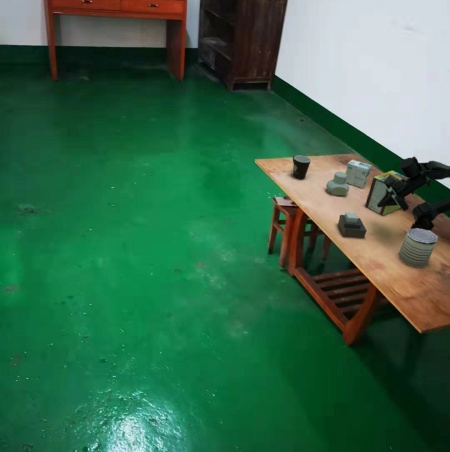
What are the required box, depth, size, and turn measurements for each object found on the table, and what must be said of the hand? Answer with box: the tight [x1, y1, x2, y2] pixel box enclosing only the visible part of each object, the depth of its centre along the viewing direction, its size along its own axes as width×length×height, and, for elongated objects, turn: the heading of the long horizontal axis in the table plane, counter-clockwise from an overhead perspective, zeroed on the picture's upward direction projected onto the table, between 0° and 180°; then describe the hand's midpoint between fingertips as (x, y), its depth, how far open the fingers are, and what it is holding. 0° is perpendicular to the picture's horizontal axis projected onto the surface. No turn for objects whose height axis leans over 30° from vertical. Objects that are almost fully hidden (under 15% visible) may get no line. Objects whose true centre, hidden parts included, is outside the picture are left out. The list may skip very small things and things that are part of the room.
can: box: [398, 228, 439, 268], centre depth 180 cm, size 11×11×12 cm
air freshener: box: [326, 171, 350, 196], centre depth 223 cm, size 11×8×10 cm
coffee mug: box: [292, 154, 312, 180], centre depth 236 cm, size 12×9×10 cm
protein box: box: [364, 170, 408, 216], centre depth 214 cm, size 10×15×16 cm
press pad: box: [344, 211, 359, 223], centre depth 193 cm, size 4×4×2 cm
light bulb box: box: [344, 159, 372, 189], centre depth 234 cm, size 11×7×11 cm, turn 58°
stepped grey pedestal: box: [337, 214, 367, 239], centre depth 195 cm, size 10×10×6 cm
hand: (377, 206), depth 190 cm, fingers closed
